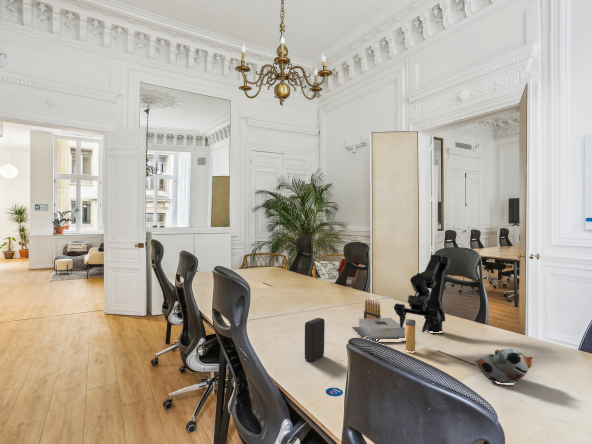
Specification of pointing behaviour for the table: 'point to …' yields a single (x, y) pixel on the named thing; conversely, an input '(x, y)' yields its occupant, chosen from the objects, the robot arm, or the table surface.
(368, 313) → the ammunition clip
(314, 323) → the card reader
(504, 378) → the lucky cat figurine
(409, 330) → the pin
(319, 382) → the table surface
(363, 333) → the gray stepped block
